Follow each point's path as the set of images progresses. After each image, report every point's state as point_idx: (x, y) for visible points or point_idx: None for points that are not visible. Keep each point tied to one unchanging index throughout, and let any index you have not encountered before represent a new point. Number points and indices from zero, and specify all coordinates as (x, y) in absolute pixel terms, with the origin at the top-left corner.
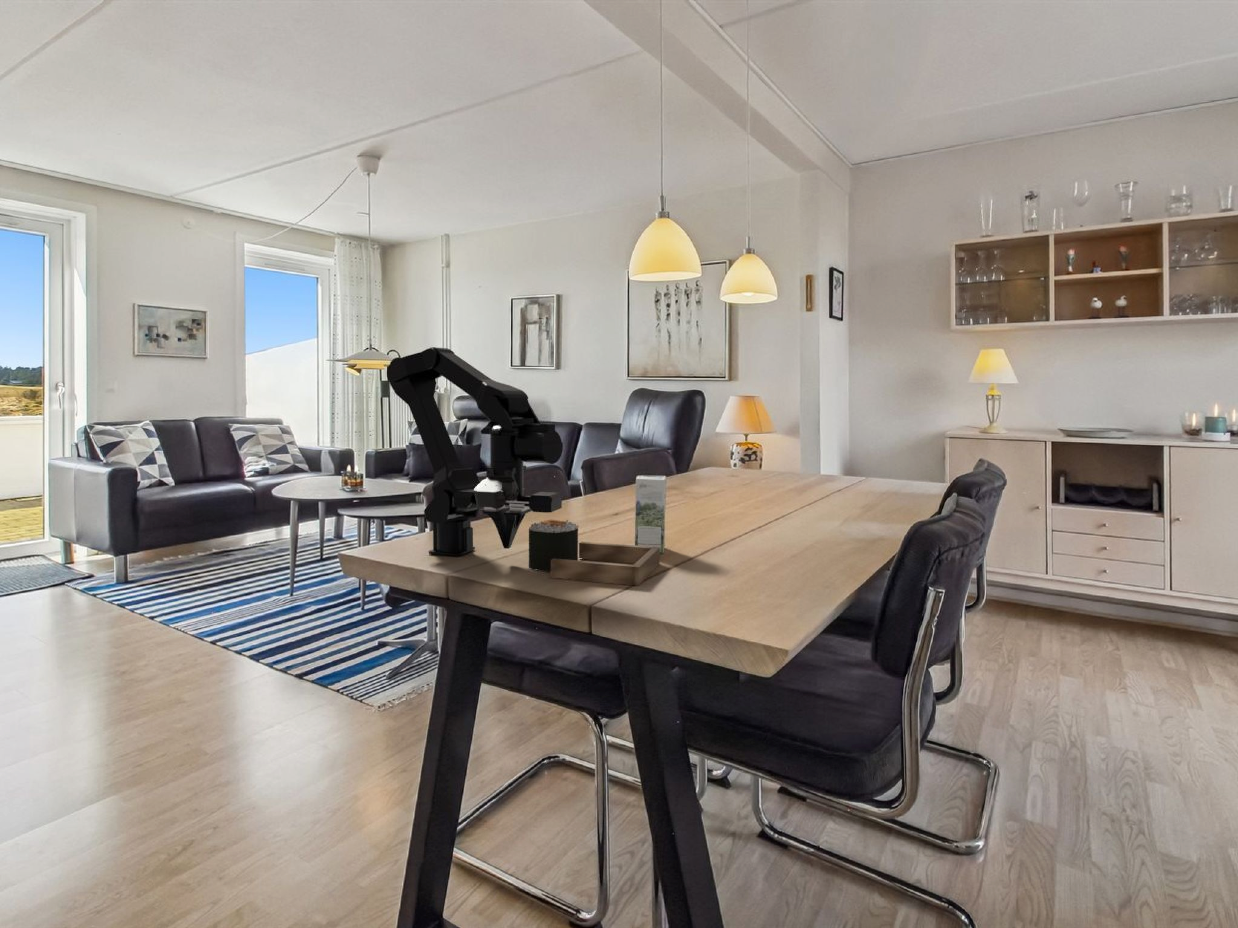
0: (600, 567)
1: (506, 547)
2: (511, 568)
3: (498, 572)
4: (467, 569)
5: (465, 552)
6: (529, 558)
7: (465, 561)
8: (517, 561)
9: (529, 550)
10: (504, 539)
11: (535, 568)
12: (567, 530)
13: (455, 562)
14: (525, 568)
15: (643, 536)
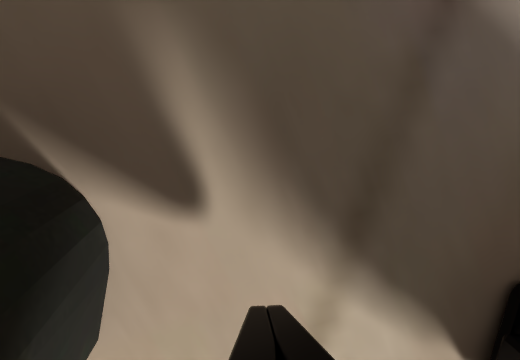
0: None
1: (262, 308)
2: (177, 156)
3: (207, 42)
4: (404, 62)
5: (502, 337)
6: (48, 214)
7: (461, 219)
8: (214, 299)
9: (7, 242)
10: (284, 345)
11: (14, 163)
12: None
13: (502, 186)
14: (100, 180)
15: None
